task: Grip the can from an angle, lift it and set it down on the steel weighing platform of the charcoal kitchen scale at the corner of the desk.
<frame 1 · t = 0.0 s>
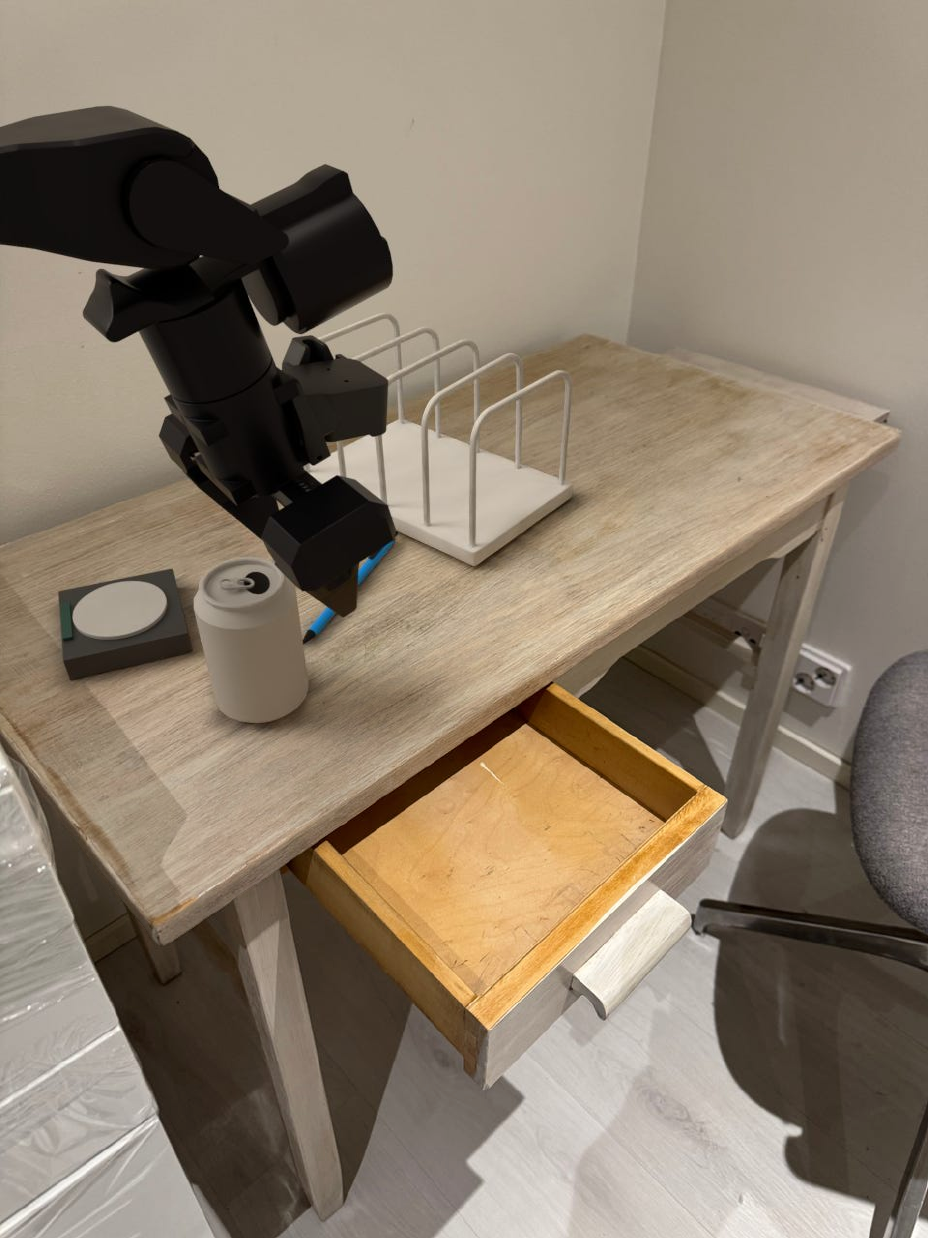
hand: (312, 577, 59), 16 cm above the table, tool pointing down, fingers open, 9 cm apart
can: (263, 699, 73), on the table
file sorter: (433, 494, 98), on the table
pen: (353, 589, 84), on the table
scale: (126, 630, 79), on the table
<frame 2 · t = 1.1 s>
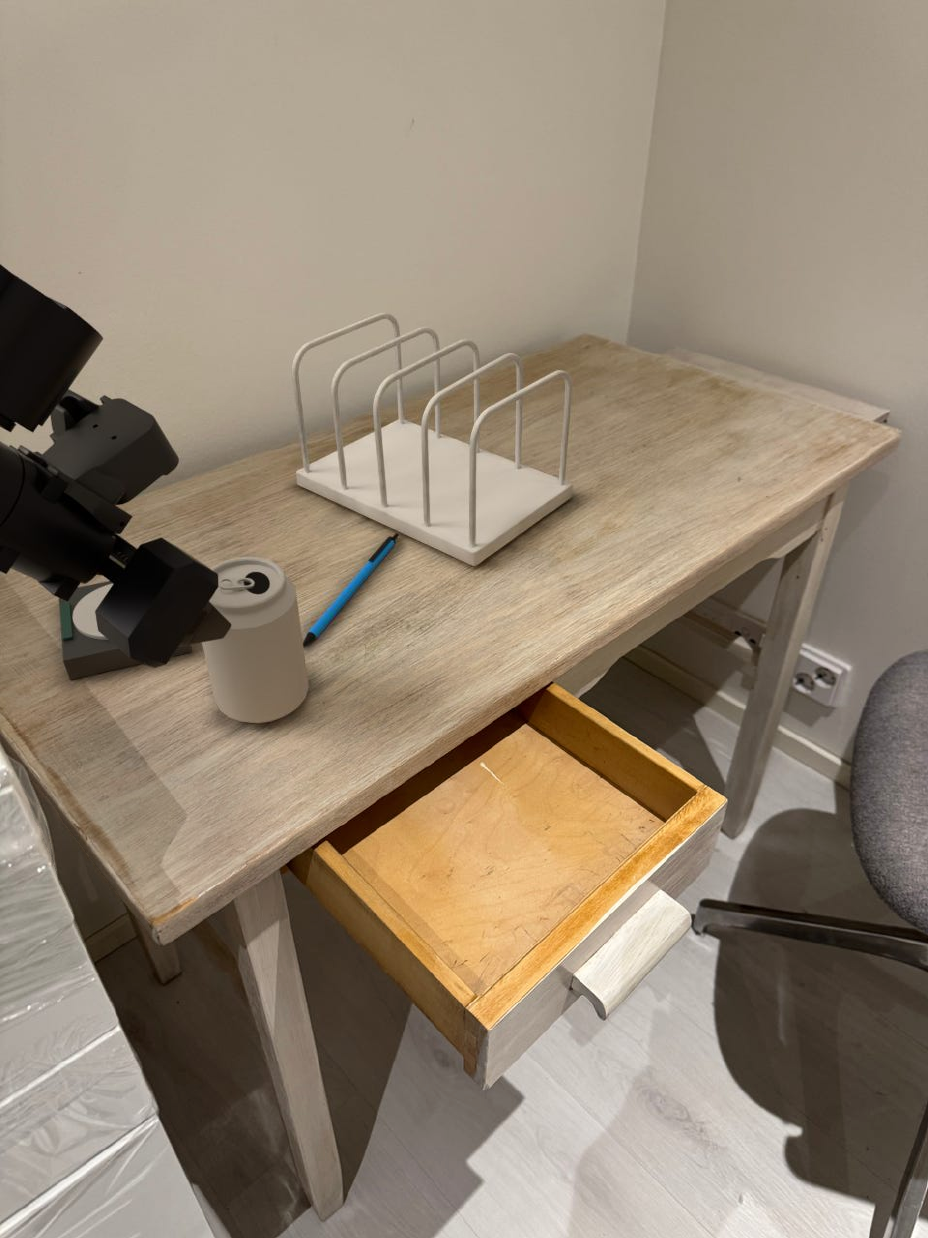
hand: (185, 600, 60), 14 cm above the table, tool tilted 40°, fingers open, 9 cm apart
nothing on the table moved.
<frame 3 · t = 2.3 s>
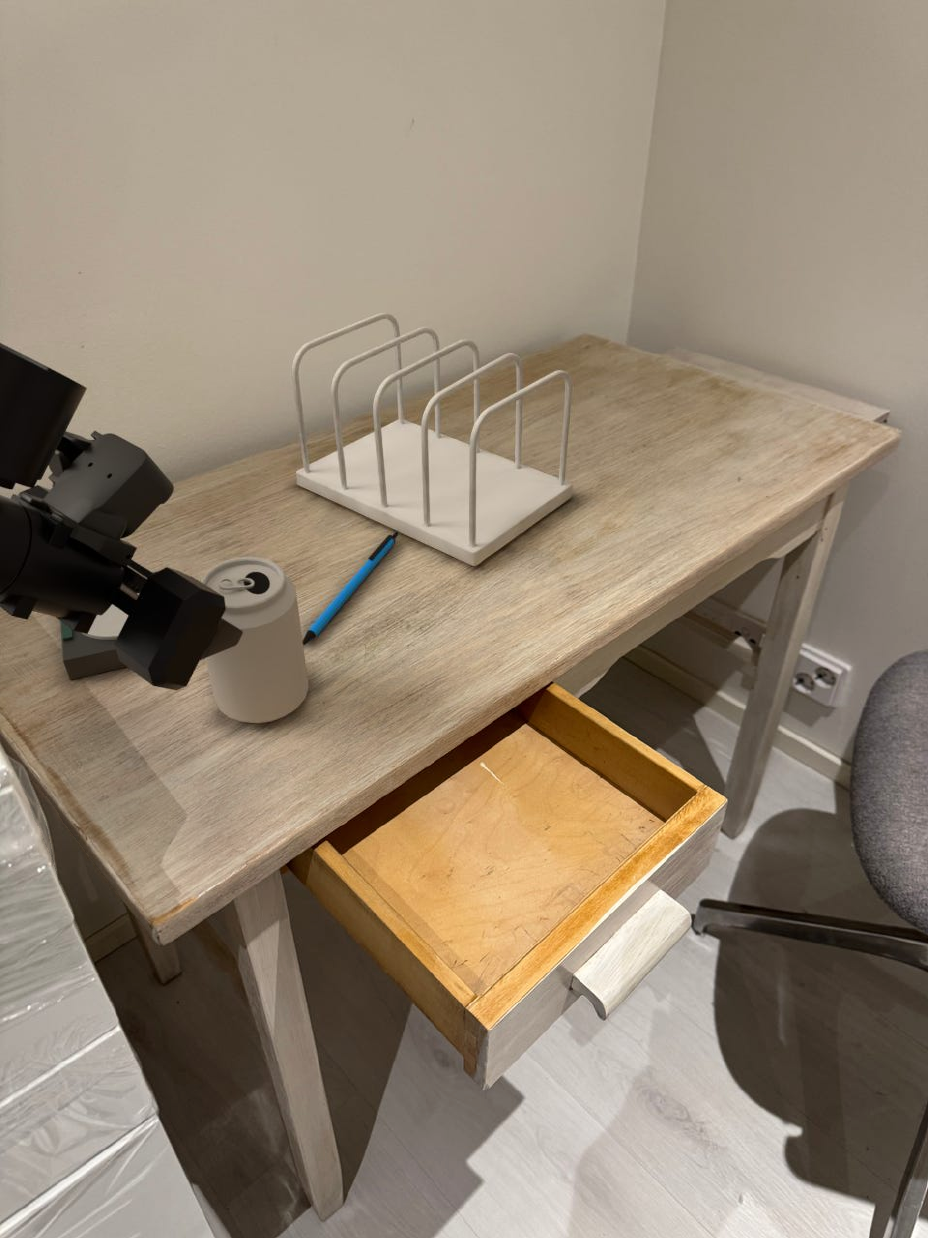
hand: (196, 610, 63), 12 cm above the table, tool tilted 45°, fingers open, 9 cm apart
nothing on the table moved.
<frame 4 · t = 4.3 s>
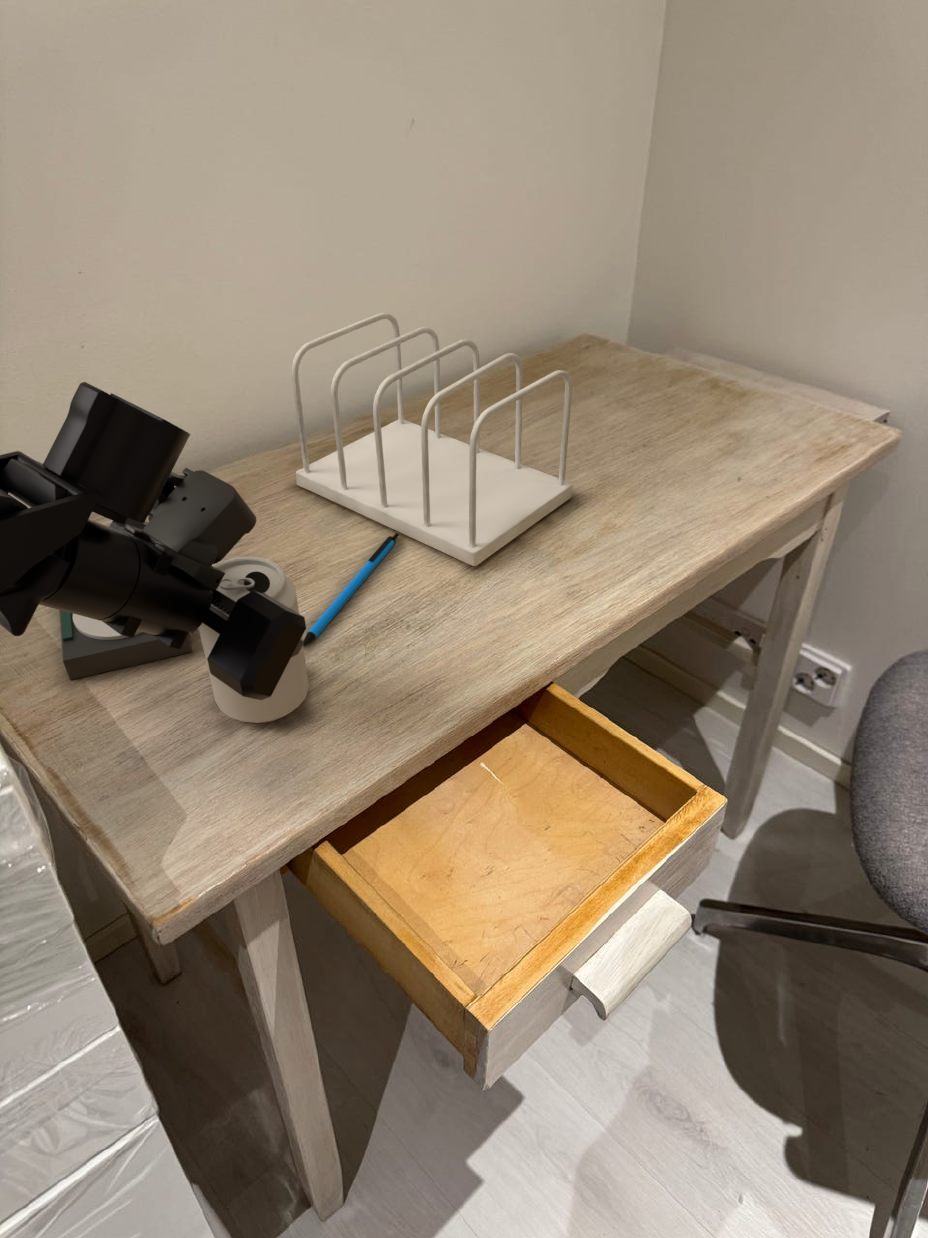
hand: (266, 626, 69), 7 cm above the table, tool tilted 45°, fingers closed on can, 7 cm apart
can: (264, 698, 73), on the table, touching gripper
everything else where it was.
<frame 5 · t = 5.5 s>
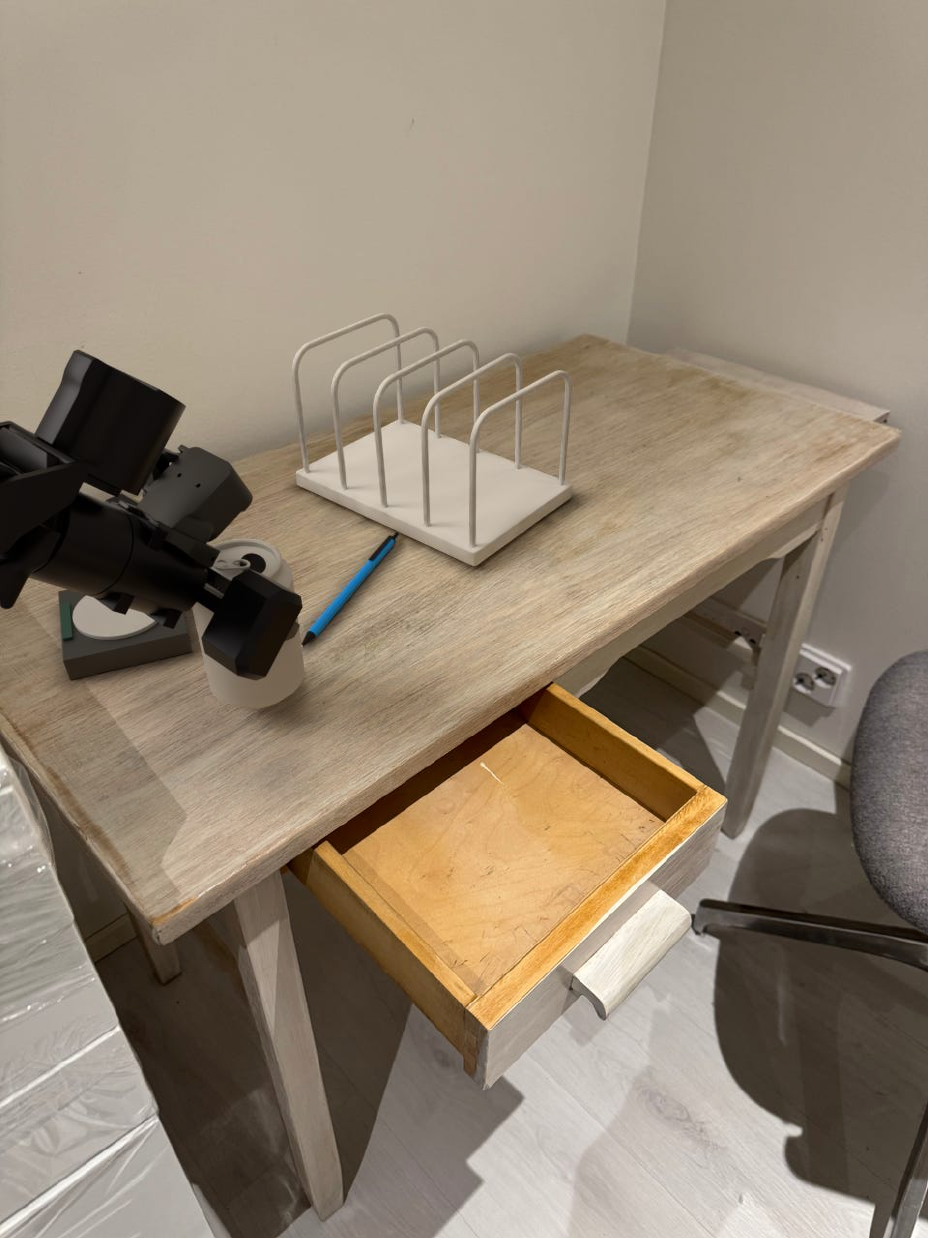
hand: (262, 609, 68), 8 cm above the table, tool tilted 45°, fingers closed on can, 7 cm apart
can: (258, 684, 71), point 2 cm above the table, touching gripper
everything else where it was.
when the fingers open (9 cm above the table, at t = 10.8 s): can stays where it is, resting on scale.
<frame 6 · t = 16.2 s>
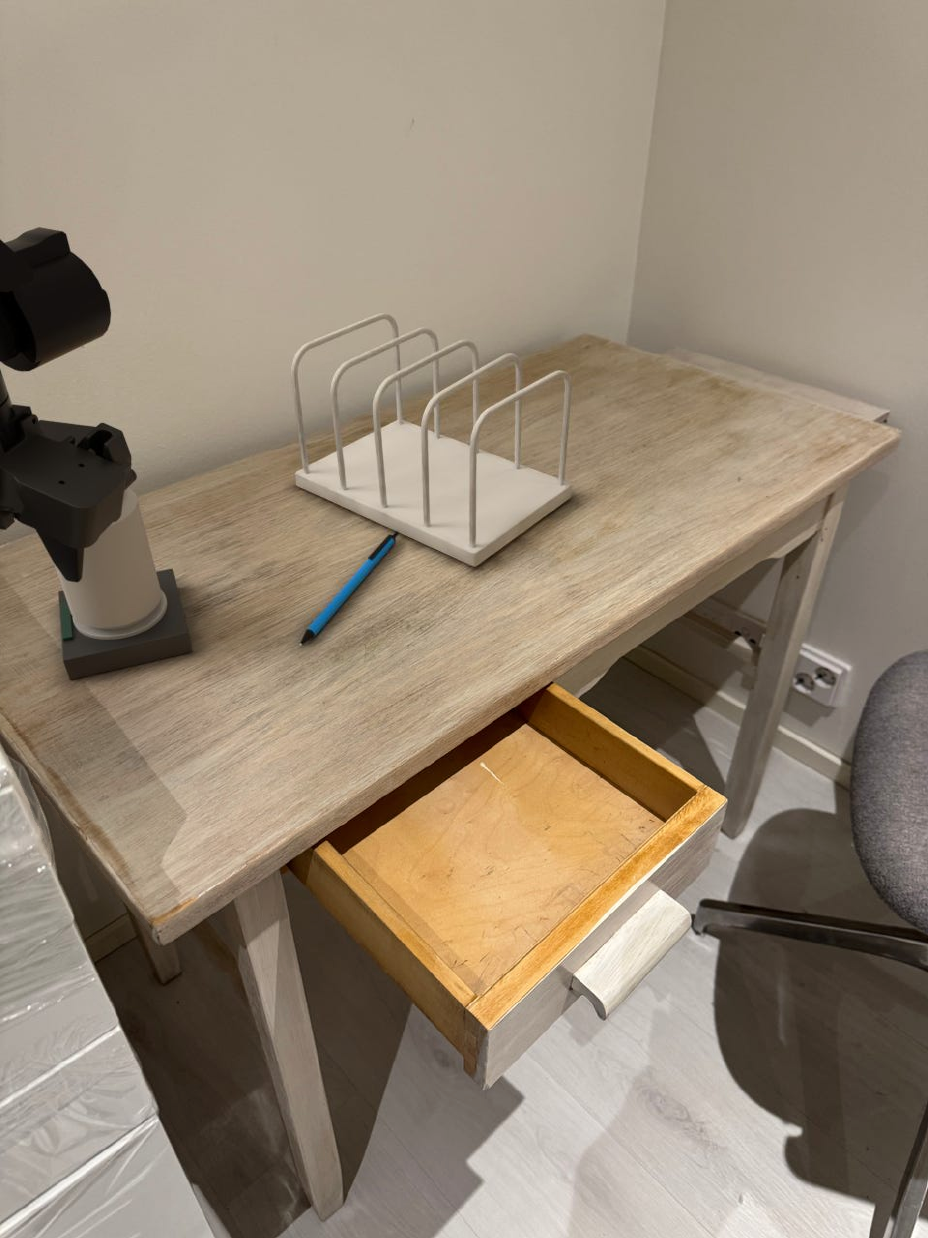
hand: (35, 620, 59), 13 cm above the table, tool pointing down, fingers open, 9 cm apart
can: (119, 610, 77), point 2 cm above the table, touching scale
everything else where it was.
at the end: can 0.2 cm off-centre on the scale, point 2.4 cm above the scale's base; can tilted 0°; file sorter moved 0.2 cm from its start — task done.
